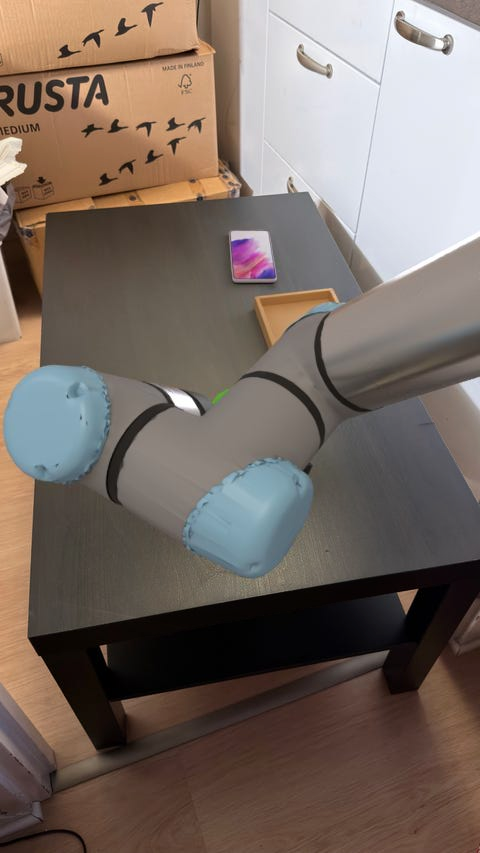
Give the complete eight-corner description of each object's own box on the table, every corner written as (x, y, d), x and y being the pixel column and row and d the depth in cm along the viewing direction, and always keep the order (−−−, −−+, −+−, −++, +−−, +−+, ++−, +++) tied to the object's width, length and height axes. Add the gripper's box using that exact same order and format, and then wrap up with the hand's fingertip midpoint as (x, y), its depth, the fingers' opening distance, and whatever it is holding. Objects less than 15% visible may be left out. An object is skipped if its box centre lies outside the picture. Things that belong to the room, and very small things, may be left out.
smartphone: (269, 229, 109) (277, 279, 99) (269, 234, 110) (277, 284, 100) (228, 229, 109) (232, 279, 99) (228, 234, 109) (232, 284, 99)
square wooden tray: (355, 350, 89) (357, 338, 87) (272, 361, 87) (273, 349, 86) (330, 300, 97) (332, 287, 95) (254, 308, 95) (254, 296, 94)
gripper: (54, 413, 57) (175, 425, 77) (258, 539, 48) (334, 516, 69) (86, 338, 56) (200, 370, 76) (300, 453, 47) (364, 455, 68)
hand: (263, 439), depth 72 cm, fingers open, 10 cm apart
